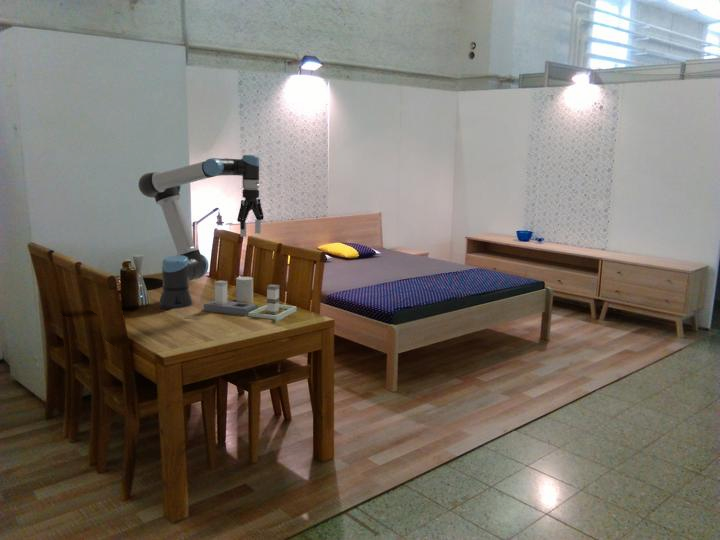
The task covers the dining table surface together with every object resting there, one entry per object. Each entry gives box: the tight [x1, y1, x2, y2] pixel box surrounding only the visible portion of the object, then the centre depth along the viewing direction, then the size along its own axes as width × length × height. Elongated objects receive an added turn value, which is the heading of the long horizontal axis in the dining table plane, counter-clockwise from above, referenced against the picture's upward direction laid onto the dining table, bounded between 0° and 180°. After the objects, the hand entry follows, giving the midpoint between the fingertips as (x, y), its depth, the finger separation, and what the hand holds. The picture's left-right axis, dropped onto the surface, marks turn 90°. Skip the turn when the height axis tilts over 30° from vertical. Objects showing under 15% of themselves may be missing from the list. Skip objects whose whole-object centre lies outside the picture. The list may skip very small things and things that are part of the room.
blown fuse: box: [266, 284, 281, 315], centre depth 275 cm, size 4×4×13 cm
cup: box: [235, 276, 254, 303], centre depth 298 cm, size 8×8×12 cm
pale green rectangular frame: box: [247, 304, 297, 323], centre depth 276 cm, size 14×20×2 cm
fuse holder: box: [203, 299, 258, 317], centre depth 278 cm, size 22×10×4 cm, turn 70°
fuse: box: [214, 280, 229, 305], centre depth 279 cm, size 4×4×13 cm
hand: (250, 235), depth 283 cm, fingers open, 13 cm apart
